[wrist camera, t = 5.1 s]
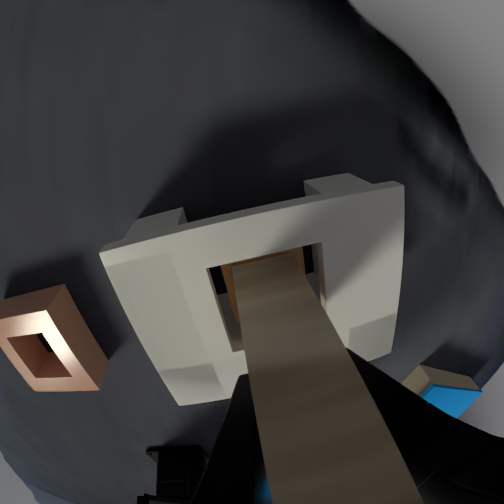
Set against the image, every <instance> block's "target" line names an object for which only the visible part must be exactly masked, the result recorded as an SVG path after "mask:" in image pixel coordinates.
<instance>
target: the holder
mask: <svg viewBox="0 0 504 504" xmlns="http://www.w3.org/2000/svg"><path fill="white" fill-rule="evenodd" d="M37 333H42V334H43V335H44V337H45V339H46V340H47V342H48V343H49V345H50V346H51V348H52V349H53V351H54V352H48V351H47V350H46V348H45V347H44V345H43V344H42V342H41V341H40V339H39V338H38V336H37V335H36V334H37ZM0 347H1V348H2V349H3V351H4V352H5V354H6V355H7V357H8V358H9V359H10V361H11V362H12V363H13V365H14V366H15V367H16V369H17V370H18V371H19V373H20V374H21V375H22V376H23V378H24V379H25V380H26V381H27V383H28V384H29V385H30V386H31V387H32V389H33V390H34V391H90V390H100V388H101V384H102V381H103V378H104V374H105V371H106V368H107V364H108V361H109V360H108V359H107V357H106V356H105V354H104V353H103V351H102V350H101V348H100V346H99V345H98V343H97V341H96V340H95V338H94V337H93V335H92V333H91V331H90V330H89V328H88V326H87V325H86V323H85V321H84V319H83V318H82V316H81V314H80V312H79V310H78V308H77V307H76V305H75V303H74V301H73V299H72V297H71V295H70V293H69V291H68V289H67V287H66V285H65V284H61V285H57V286H53V287H49V288H46V289H42V290H38V291H34V292H30V293H26V294H22V295H18V296H14V297H11V298H7V299H3V300H2V302H1V303H0Z"/></svg>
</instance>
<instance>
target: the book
mask: <svg viewBox="0 0 504 504" xmlns="http://www.w3.org/2000/svg"><path fill="white" fill-rule="evenodd" d="M401 384H402V385H404V386H405V387H407V388H408V389H410V390H411V391H413V392H414V393H416V394H417V395H419V396H420V397H422V398H423V399H425V400H426V401H427V402H428V403H431V404H433V405H434V406H436V407H437V408H439V409H441V410H442V411H444V412H446V413H447V414H449V415H451V416H453V417H455V418H457V417H458V416H460V415H461V414H462V413H463V412H464V411H465V410H466V409H467V408H468V407H469V406H470V405H471V404H472V403H473V402H474V401H475V399H477V398H478V397H479V395H480V394H481V393H482V391H481V389H480V387H479V386H478V384H477V383H476V382H475V380H474V379H473V378H472V377H469V376H465V375H460V374H456V373H452V372H448V371H443V370H439V369H435V368H431V367H427V366H424V365H420V364H419V365H418V366H417V367H416V368H415V370H414V371H413V372H412V373H411V374H410V375H409V376H408V377H407V378H406V379H405V380H404V381H403V382H402V383H401Z"/></svg>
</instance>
